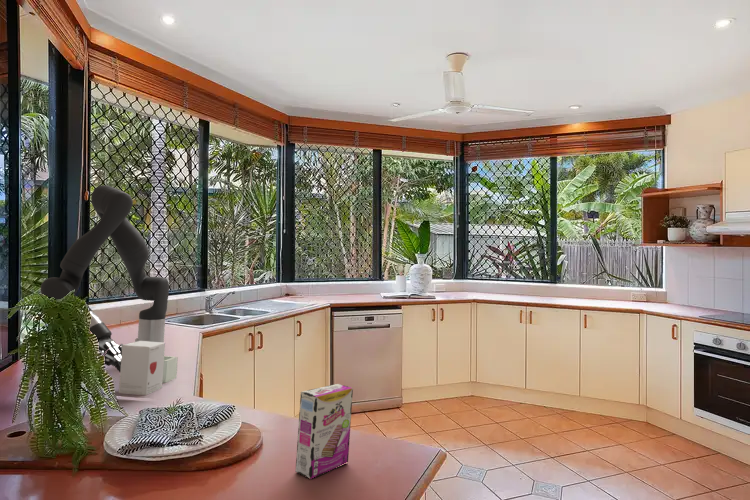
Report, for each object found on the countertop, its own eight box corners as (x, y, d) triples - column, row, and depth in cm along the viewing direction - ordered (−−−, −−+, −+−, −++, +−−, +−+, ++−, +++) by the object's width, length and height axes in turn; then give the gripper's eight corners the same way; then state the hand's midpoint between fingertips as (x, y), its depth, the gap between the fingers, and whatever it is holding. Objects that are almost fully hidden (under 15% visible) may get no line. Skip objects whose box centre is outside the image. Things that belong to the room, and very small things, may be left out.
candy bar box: (311, 481, 94) (316, 396, 94) (294, 473, 97) (298, 391, 97) (350, 464, 103) (354, 387, 103) (333, 457, 106) (337, 382, 106)
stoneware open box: (145, 384, 156) (146, 359, 156) (156, 379, 163) (157, 355, 163) (165, 385, 156) (167, 360, 156) (176, 380, 163) (177, 356, 163)
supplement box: (146, 398, 141) (149, 347, 142) (117, 395, 142) (120, 344, 143) (163, 390, 150) (166, 342, 151) (136, 387, 151) (139, 340, 152)
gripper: (85, 324, 141) (122, 369, 140) (113, 319, 155) (147, 360, 153) (67, 341, 142) (103, 386, 140) (96, 334, 155) (130, 375, 154)
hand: (126, 372), depth 147 cm, fingers closed
